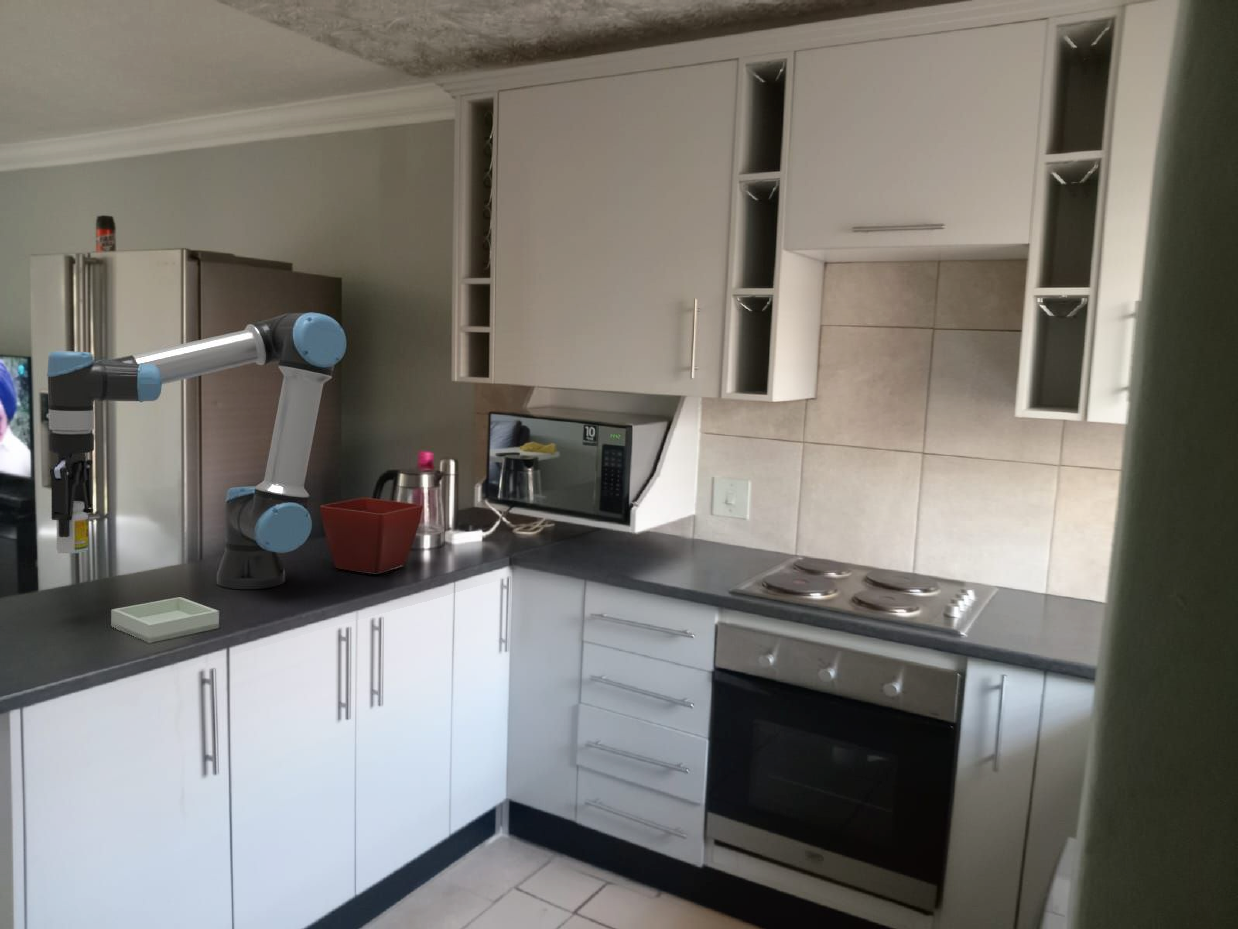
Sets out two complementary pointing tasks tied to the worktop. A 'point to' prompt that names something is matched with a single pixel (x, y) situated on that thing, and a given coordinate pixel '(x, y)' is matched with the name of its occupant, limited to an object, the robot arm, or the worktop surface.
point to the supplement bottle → (79, 527)
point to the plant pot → (370, 533)
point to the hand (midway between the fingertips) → (73, 549)
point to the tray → (164, 619)
